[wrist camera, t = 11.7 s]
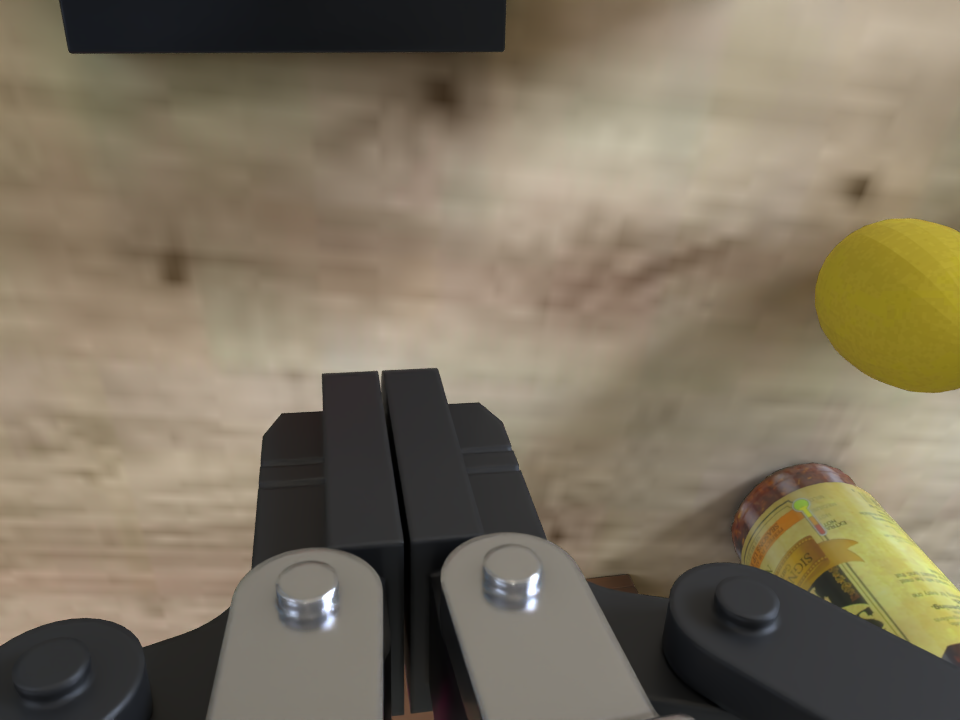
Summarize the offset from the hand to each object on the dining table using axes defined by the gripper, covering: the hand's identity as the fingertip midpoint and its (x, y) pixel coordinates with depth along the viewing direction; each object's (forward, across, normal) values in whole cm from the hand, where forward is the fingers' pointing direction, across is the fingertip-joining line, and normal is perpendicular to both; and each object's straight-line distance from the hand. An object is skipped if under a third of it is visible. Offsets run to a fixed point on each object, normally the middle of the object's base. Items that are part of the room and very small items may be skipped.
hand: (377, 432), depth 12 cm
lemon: (+19, -19, +5) cm, 27 cm away
